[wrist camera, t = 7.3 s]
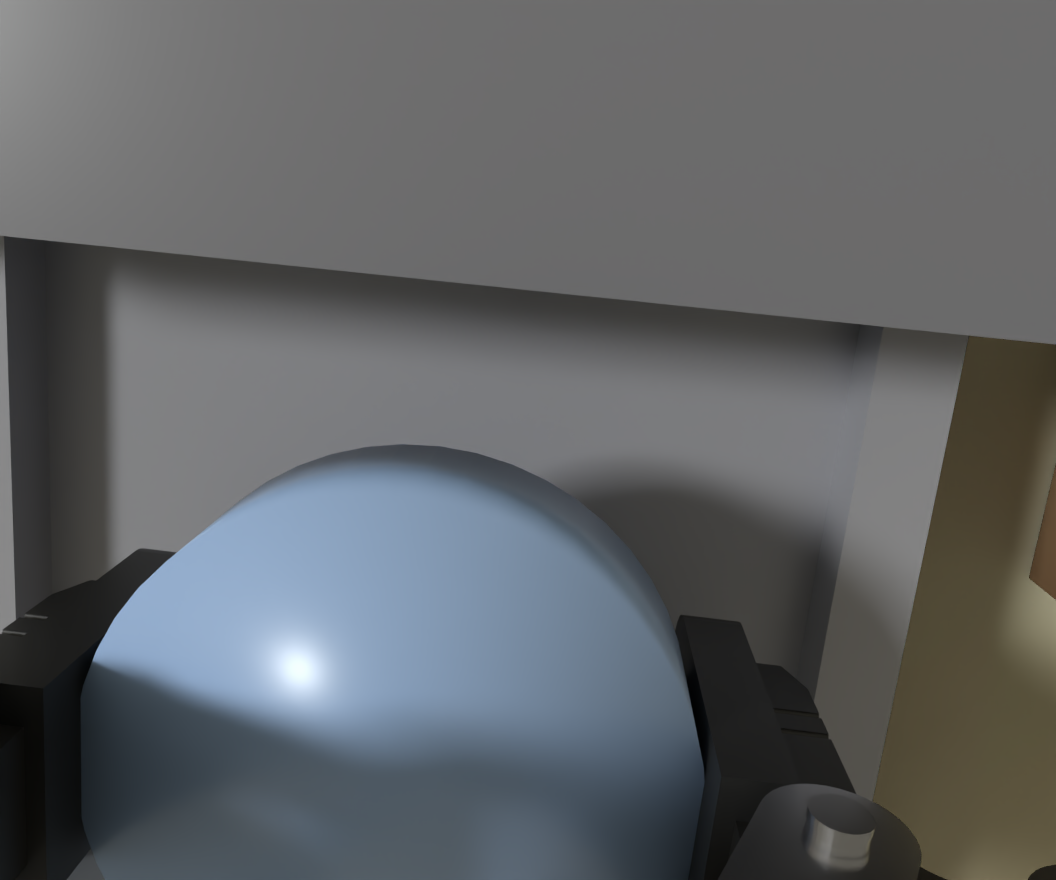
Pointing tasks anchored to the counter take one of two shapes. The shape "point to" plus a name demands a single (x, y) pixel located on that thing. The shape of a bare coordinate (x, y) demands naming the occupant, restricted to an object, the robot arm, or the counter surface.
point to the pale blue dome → (393, 689)
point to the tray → (487, 435)
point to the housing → (561, 146)
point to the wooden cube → (1046, 547)
